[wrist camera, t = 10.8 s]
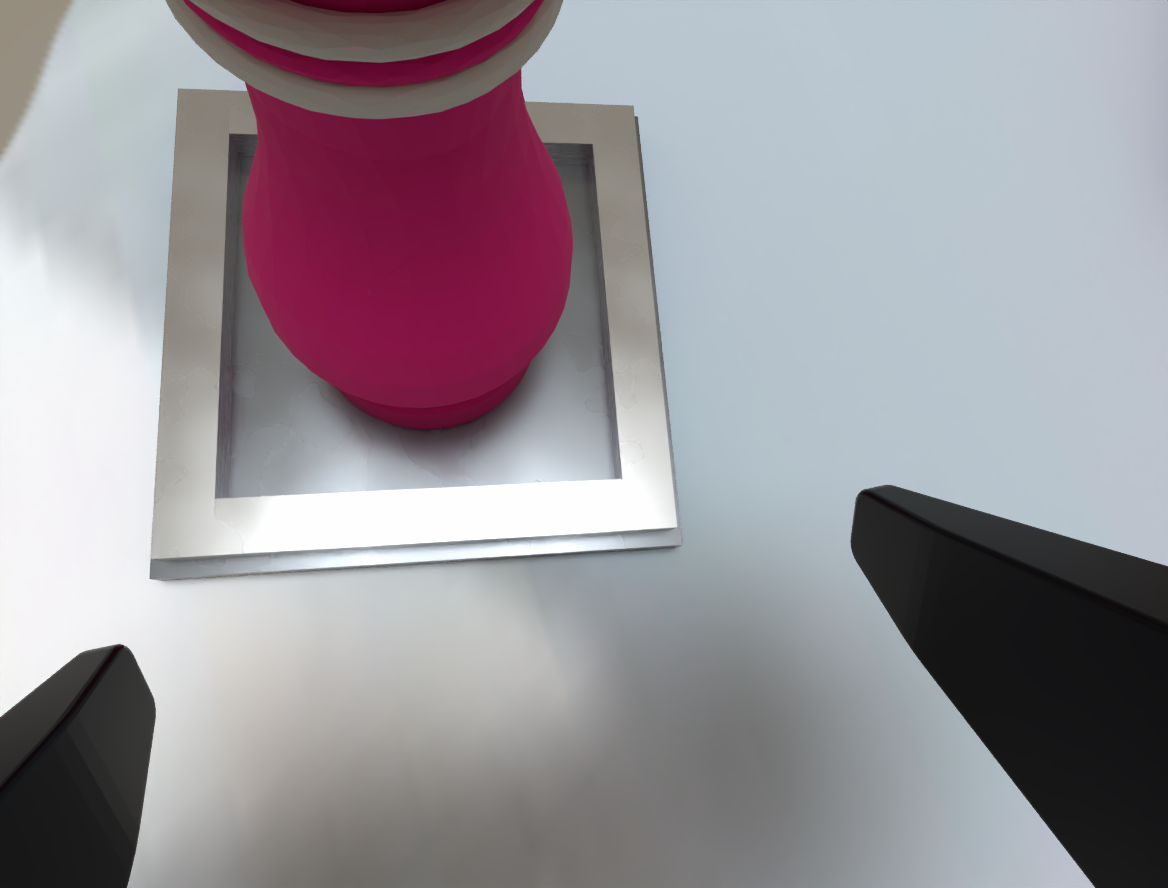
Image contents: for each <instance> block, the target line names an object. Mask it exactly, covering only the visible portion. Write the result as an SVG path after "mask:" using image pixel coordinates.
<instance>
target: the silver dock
mask: <svg viewBox="0 0 1168 888" xmlns="http://www.w3.org/2000/svg"><path fill="white" fill-rule="evenodd" d="M525 105H526V109H527V112H528V114H529V116H530V118H531V120H532V123H533V125H534V127H535V129H536V131H537V134H538V135H539V137H540V139H541V141H542V142H543V144H544V146H545V148H546V150H547V151H548V153H549V155H550V157H551V158H552V160H553V162H554V164H555V166H556V169H557V171H558V173H559V175H560V178H561V182H562V186H563V190H564V194H565V198H566V202H567V206H568V210H569V214H570V218H571V222H572V234H573V254H572V265H571V276H570V287H569V291H568V296H567V300H566V304H565V308H564V310H563V313H562V315H561V317H560V319H559V322H558V324H557V326H556V328H555V330H554V332H553V333H552V335H551V336H550V338H549V339H548V341H547V343H546V344H545V346H544V347H543V348H542V349H541V351H540V352H539V353H538V354H537V355H536V356H535V357H534V358H533V359H532V360H531V362H530V364H529V367H528V369H527V371H526V373H525V375H524V376H523V378H522V380H521V382H520V383H519V384H518V386H517V387H516V388H515V389H514V391H513V392H512V393H511V395H509V396H508V397H507V398H506V399H505V400H504V401H503V402H502V403H501V404H500V405H498V406H497V407H496V408H494V409H493V410H492V411H490V412H488V413H486V414H485V415H483V416H481V417H479V418H477V419H475V420H472V421H470V422H468V423H464V424H461V425H457V426H454V427H449V428H442V429H425V430H423V429H413V428H405V427H401V426H397V425H393V424H390V423H387V422H384V421H381V420H379V419H377V418H375V417H373V416H371V415H369V414H367V413H365V412H364V411H362V410H361V409H359V408H358V407H357V406H355V405H354V404H353V403H351V402H350V401H349V400H348V399H347V398H346V397H345V396H344V395H343V394H342V393H341V392H340V391H339V389H338V388H337V387H335V386H333V385H332V384H330V383H328V382H327V381H325V380H323V379H322V378H320V377H318V376H317V375H316V374H314V373H313V372H312V371H310V370H309V369H308V368H307V367H306V366H305V365H304V364H302V363H301V362H300V361H299V360H298V359H297V358H296V357H295V356H293V354H292V353H291V352H290V351H289V349H288V348H287V347H286V346H285V344H284V343H283V342H282V341H281V339H280V338H279V337H278V336H277V334H276V333H275V332H274V329H273V327H272V325H271V323H270V321H269V319H268V317H267V315H266V313H265V311H264V309H263V307H262V305H261V303H260V300H259V298H258V296H257V294H256V291H255V289H254V287H253V285H252V282H251V280H250V278H249V275H248V270H247V264H246V258H245V253H244V247H243V228H242V213H243V197H244V193H245V189H246V185H247V182H248V178H249V174H250V171H251V167H252V163H253V160H254V156H255V152H256V149H257V145H258V132H257V121H256V117H255V114H254V110H253V107H252V104H251V100H250V97H249V94H248V91H228V90H202V89H178V100H177V117H176V134H175V151H174V168H173V185H172V202H171V219H170V236H169V253H168V270H167V287H166V304H165V321H164V338H163V355H162V372H161V390H160V407H159V424H158V441H157V458H156V475H155V492H154V509H153V526H152V543H151V563H150V579H153V580H162V581H164V580H179V579H195V578H210V577H226V576H241V575H257V574H272V573H287V572H303V571H318V570H334V569H349V568H365V567H380V566H396V565H411V564H426V563H442V562H457V561H473V560H488V559H504V558H519V557H534V556H550V555H565V554H581V553H596V552H612V551H627V550H642V549H658V548H673V547H678V546H681V545H683V543H682V533H681V524H680V514H679V505H678V495H677V486H676V476H675V467H674V457H673V448H672V438H671V429H670V419H669V410H668V400H667V391H666V381H665V372H664V362H663V353H662V343H661V334H660V324H659V315H658V305H657V296H656V287H655V277H654V268H653V258H652V249H651V239H650V230H649V220H648V211H647V201H646V192H645V182H644V173H643V163H642V154H641V144H640V135H639V125H638V117H636V116H634V107H633V106H625V105H599V104H572V103H546V102H525Z"/></svg>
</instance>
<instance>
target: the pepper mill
mask: <svg viewBox="0 0 1168 888" xmlns="http://www.w3.org/2000/svg"><path fill="white" fill-rule="evenodd" d="M166 2H167V4H168V6H169V8H170V10H171V11H172V13H173V15H174V17H175V19H176V20H177V21H178V22H179V23H180V25H181V26H182V27H183V28H184V29H185V31H186V32H187V33H188V34H189V35H190V37H191V38H192V39H193V40H194V41H195V43H196V44H197V45H198V46H199V47H200V48H202V49H203V50H204V51H205V52H206V53H207V54H208V55H209V56H210V57H211V58H212V59H213V60H214V61H215V62H216V63H218V64H219V65H221V66H222V67H223V68H225V69H226V70H228V71H229V72H231V73H232V74H234V75H235V76H236V77H238V78H239V79H241V80H243V81H244V82H245V84H246V87H247V90H248V94H249V97H250V100H251V104H252V107H253V110H254V114H255V117H256V121H257V132H258V145H257V149H256V152H255V156H254V160H253V163H252V167H251V171H250V174H249V178H248V182H247V185H246V189H245V193H244V197H243V213H242V228H243V247H244V253H245V258H246V264H247V270H248V275H249V278H250V280H251V282H252V285H253V287H254V289H255V291H256V294H257V296H258V298H259V300H260V303H261V305H262V307H263V309H264V311H265V313H266V315H267V317H268V319H269V321H270V323H271V325H272V327H273V329H274V332H275V333H276V334H277V336H278V337H279V338H280V339H281V341H282V342H283V343H284V344H285V346H286V347H287V348H288V349H289V351H290V352H291V353H292V354H293V356H295V357H296V358H297V359H298V360H299V361H300V362H301V363H302V364H304V365H305V366H306V367H307V368H308V369H309V370H310V371H312V372H313V373H314V374H316V375H317V376H318V377H320V378H322V379H323V380H325V381H327V382H328V383H330V384H332V385H333V386H335V387H337V388H338V389H339V391H340V392H341V393H342V394H343V395H344V396H345V397H346V398H347V399H348V400H349V401H350V402H351V403H353V404H354V405H355V406H357V407H358V408H359V409H361V410H362V411H364V412H365V413H367V414H369V415H371V416H373V417H375V418H377V419H379V420H381V421H384V422H387V423H390V424H393V425H397V426H401V427H405V428H413V429H423V430H425V429H442V428H449V427H454V426H457V425H461V424H464V423H468V422H470V421H472V420H475V419H477V418H479V417H481V416H483V415H485V414H486V413H488V412H490V411H492V410H493V409H494V408H496V407H497V406H498V405H500V404H501V403H502V402H503V401H504V400H505V399H506V398H507V397H508V396H509V395H511V393H512V392H513V391H514V389H515V388H516V387H517V386H518V384H519V383H520V382H521V380H522V378H523V376H524V375H525V373H526V371H527V369H528V367H529V364H530V362H531V360H532V359H533V358H534V357H535V356H536V355H537V354H538V353H539V352H540V351H541V349H542V348H543V347H544V346H545V344H546V343H547V341H548V339H549V338H550V336H551V335H552V333H553V332H554V330H555V328H556V326H557V324H558V322H559V319H560V317H561V315H562V313H563V310H564V308H565V304H566V300H567V296H568V291H569V287H570V276H571V265H572V254H573V234H572V222H571V218H570V214H569V210H568V206H567V202H566V198H565V194H564V190H563V186H562V182H561V178H560V175H559V173H558V171H557V169H556V166H555V164H554V162H553V160H552V158H551V157H550V155H549V153H548V151H547V150H546V148H545V146H544V144H543V142H542V141H541V139H540V137H539V135H538V134H537V131H536V129H535V127H534V125H533V123H532V120H531V118H530V116H529V114H528V112H527V109H526V105H525V101H524V97H523V92H522V88H521V68H522V66H523V65H524V64H525V63H526V62H527V61H528V60H529V59H530V58H531V57H532V56H533V55H534V54H535V53H536V52H537V51H538V50H539V48H540V46H541V45H542V43H543V42H544V40H545V39H546V37H547V35H548V34H549V32H550V31H551V29H552V27H553V26H554V24H555V21H556V19H557V16H558V14H559V12H560V8H561V5H562V2H563V0H166Z"/></svg>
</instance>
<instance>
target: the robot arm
mask: <svg viewBox="0 0 1168 888" xmlns="http://www.w3.org/2000/svg"><path fill="white" fill-rule="evenodd" d="M851 549H852V553H853V556H854V558H855V560H856V562H857V563H858V565H859V567H860V568H861V570H862V571H863V573H864V575H865V576H866V578H867V579H868V581H869V583H870V584H871V586H872V587H873V589H874V591H875V592H876V594H877V595H878V597H879V599H880V600H881V602H882V604H883V605H884V607H885V608H886V610H887V612H888V613H889V615H890V616H891V618H892V620H893V621H894V623H895V624H896V626H897V628H898V629H899V631H900V632H901V634H902V636H903V637H904V639H905V640H906V642H907V643H908V645H909V646H910V648H911V649H912V651H913V652H914V653H915V655H916V656H917V657H918V659H919V660H920V662H921V663H922V664H923V666H924V667H925V668H926V669H927V671H928V672H929V673H930V675H931V676H932V677H933V679H934V680H935V681H936V682H937V684H938V685H939V686H940V688H941V689H942V690H943V691H944V693H945V694H946V695H947V697H948V698H949V699H950V701H951V702H952V703H953V704H954V706H955V707H956V708H957V710H958V711H959V712H960V713H961V715H962V716H963V717H964V719H965V720H966V721H967V723H968V724H969V725H970V726H971V728H972V729H973V730H974V732H975V733H976V734H977V735H978V737H979V738H980V739H981V741H982V742H983V743H984V745H985V746H986V747H987V748H988V750H989V751H990V752H991V754H992V755H993V756H994V757H995V759H996V760H997V761H998V763H999V764H1000V765H1001V766H1002V768H1003V769H1004V770H1005V772H1006V773H1007V774H1008V776H1009V777H1010V778H1011V779H1012V781H1013V782H1014V783H1015V785H1016V786H1017V787H1018V788H1019V790H1020V791H1021V792H1022V794H1023V795H1024V796H1025V798H1026V799H1027V800H1028V801H1029V803H1030V804H1031V805H1032V807H1033V808H1034V809H1035V810H1036V812H1037V813H1038V814H1039V816H1040V817H1041V818H1042V820H1043V821H1044V822H1045V823H1046V825H1047V826H1048V827H1049V829H1050V830H1051V831H1052V832H1053V834H1054V835H1055V836H1056V838H1057V839H1058V840H1059V841H1060V843H1061V844H1062V845H1063V847H1064V848H1065V849H1066V851H1067V852H1068V853H1069V854H1070V856H1071V857H1072V858H1073V860H1074V861H1075V862H1076V863H1077V865H1078V866H1079V867H1080V869H1081V870H1082V871H1083V873H1084V874H1085V875H1086V876H1087V878H1088V879H1089V880H1090V882H1091V883H1092V884H1093V885H1094V887H1095V888H1168V566H1165V565H1162V564H1158V563H1155V562H1151V561H1148V560H1145V559H1141V558H1138V557H1134V556H1131V555H1128V554H1124V553H1121V552H1117V551H1114V550H1110V549H1107V548H1104V547H1100V546H1097V545H1093V544H1090V543H1087V542H1083V541H1080V540H1076V539H1073V538H1070V537H1066V536H1063V535H1059V534H1056V533H1053V532H1049V531H1046V530H1042V529H1039V528H1036V527H1032V526H1029V525H1025V524H1022V523H1019V522H1015V521H1012V520H1008V519H1005V518H1002V517H998V516H995V515H991V514H988V513H985V512H981V511H978V510H974V509H971V508H968V507H964V506H961V505H957V504H954V503H951V502H947V501H944V500H940V499H937V498H934V497H930V496H927V495H923V494H920V493H917V492H913V491H910V490H906V489H903V488H900V487H896V486H893V485H883V486H878V487H873V488H869V489H864V490H862V491H861V492H860V493H859V494H858V495H857V497H856V501H855V509H854V517H853V525H852V533H851ZM155 718H156V708H155V702H154V698H153V695H152V693H151V691H150V689H149V687H148V685H147V683H146V680H145V678H144V676H143V674H142V672H141V670H140V668H139V666H138V664H137V661H136V659H135V657H134V655H133V653H132V652H131V650H130V649H129V648H128V647H127V646H124V645H121V644H116V645H112V646H107V647H102V648H97V649H92V650H88V651H84V652H82V653H80V654H79V655H77V656H76V657H75V658H73V659H72V660H71V661H70V662H68V663H67V664H66V665H65V666H63V667H62V668H61V669H60V670H58V671H57V672H56V673H55V674H53V675H52V676H51V677H50V678H49V679H47V680H46V681H45V682H44V683H42V684H41V685H40V686H39V687H37V688H36V689H35V690H34V691H32V692H31V693H30V694H29V695H27V696H26V697H25V698H24V699H22V700H21V701H20V702H19V703H17V704H16V705H15V706H14V707H12V708H11V709H10V710H9V711H7V712H6V713H5V714H4V715H2V716H1V717H0V888H127V885H128V881H129V877H130V873H131V869H132V865H133V861H134V856H135V852H136V847H137V841H138V835H139V830H140V823H141V816H142V809H143V802H144V795H145V788H146V781H147V774H148V767H149V761H150V754H151V747H152V740H153V733H154V726H155Z"/></svg>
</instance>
